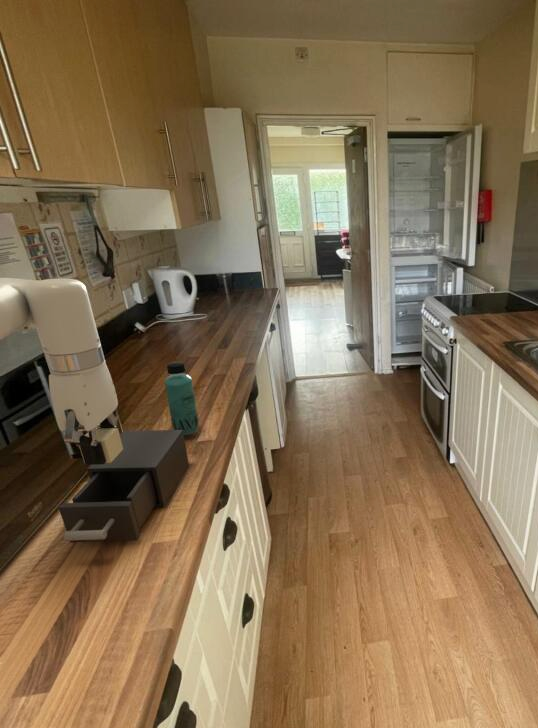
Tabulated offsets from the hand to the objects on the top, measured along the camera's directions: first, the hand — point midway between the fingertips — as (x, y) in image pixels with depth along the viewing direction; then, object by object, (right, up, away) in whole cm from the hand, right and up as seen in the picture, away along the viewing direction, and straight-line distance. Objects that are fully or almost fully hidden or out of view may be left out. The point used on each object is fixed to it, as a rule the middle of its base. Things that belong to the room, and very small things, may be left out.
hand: (103, 454), depth 76 cm
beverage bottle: (-2, -1, +37) cm, 37 cm away
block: (0, 0, 0) cm, 0 cm away
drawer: (-1, -14, +5) cm, 15 cm away
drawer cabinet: (-2, -10, +17) cm, 19 cm away
